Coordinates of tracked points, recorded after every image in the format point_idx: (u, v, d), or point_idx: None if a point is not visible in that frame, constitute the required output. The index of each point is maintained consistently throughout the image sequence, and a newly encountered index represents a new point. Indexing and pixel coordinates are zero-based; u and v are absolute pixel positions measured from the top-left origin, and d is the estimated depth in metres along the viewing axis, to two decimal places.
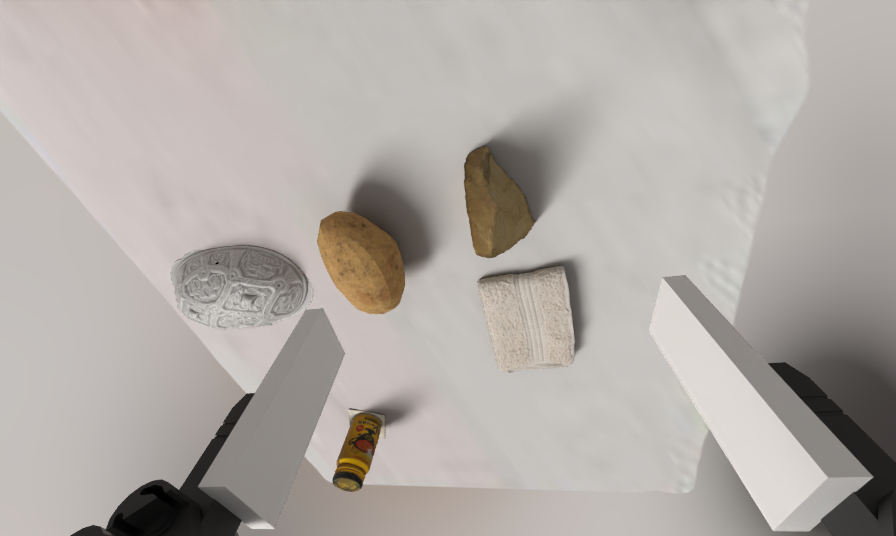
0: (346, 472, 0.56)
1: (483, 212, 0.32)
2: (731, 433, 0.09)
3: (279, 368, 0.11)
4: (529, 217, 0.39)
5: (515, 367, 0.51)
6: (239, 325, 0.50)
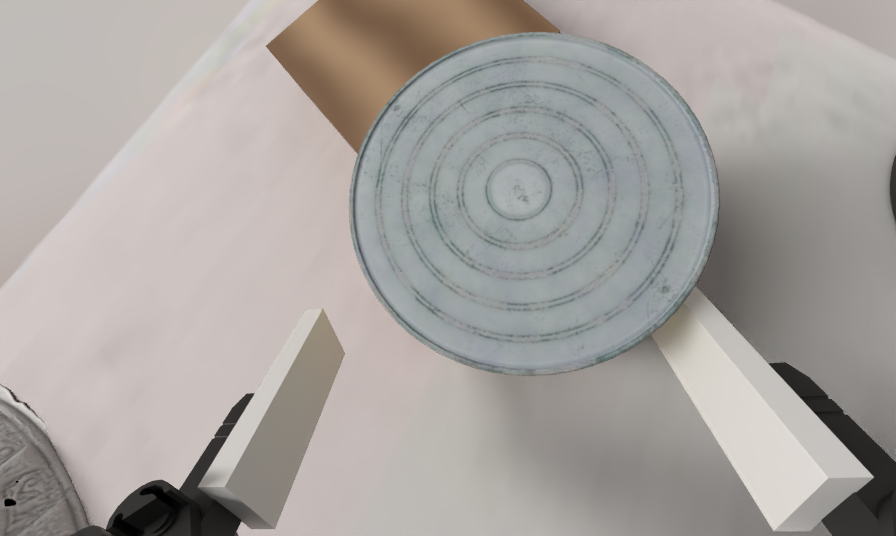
0: None
1: None
2: (732, 434, 0.09)
3: (279, 368, 0.11)
4: None
5: None
6: None
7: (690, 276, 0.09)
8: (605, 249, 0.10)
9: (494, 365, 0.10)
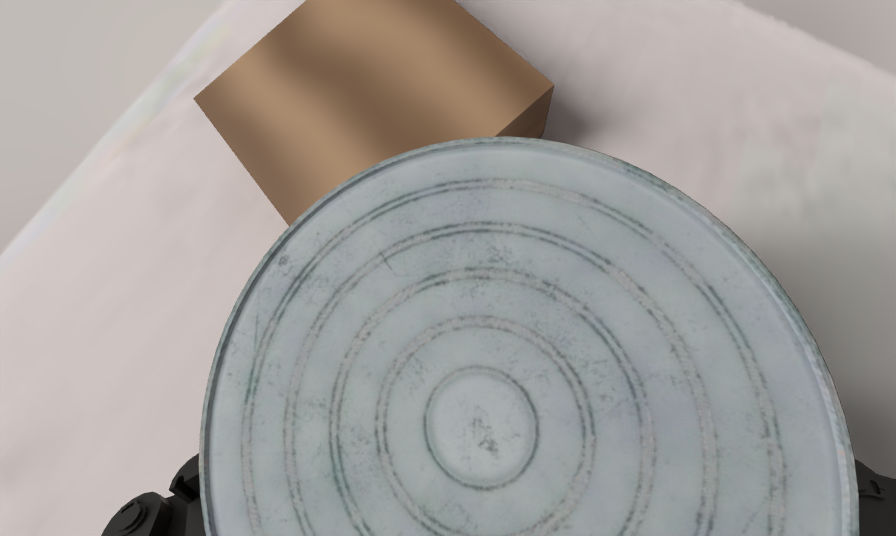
0: None
1: None
2: None
3: None
4: None
5: None
6: None
7: None
8: None
9: None
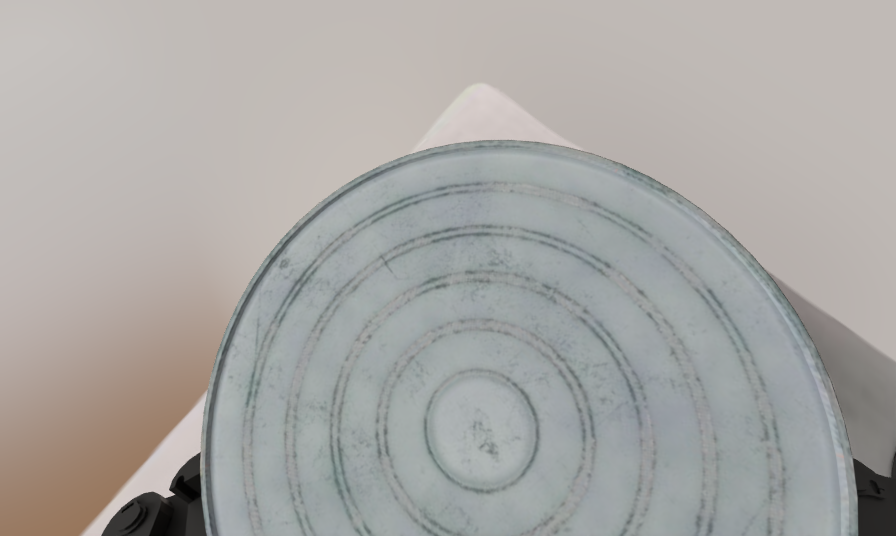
0: None
1: None
2: None
3: None
4: None
5: None
6: None
7: None
8: None
9: None
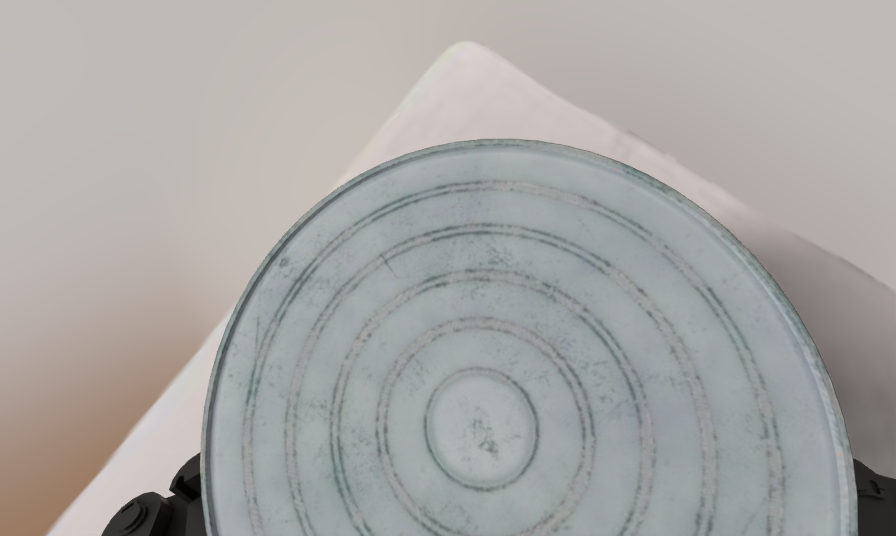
0: None
1: None
2: None
3: None
4: None
5: None
6: None
7: None
8: None
9: None
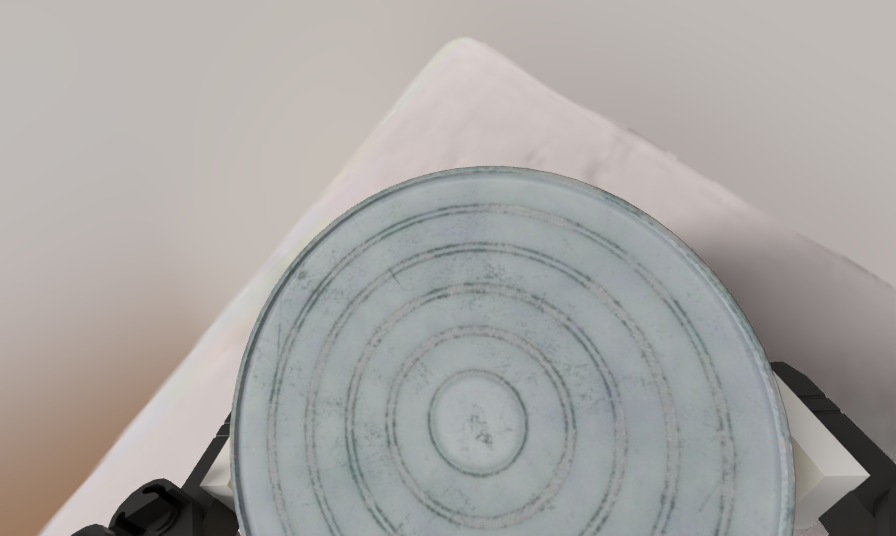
0: None
1: None
2: None
3: None
4: None
5: None
6: None
7: None
8: None
9: None
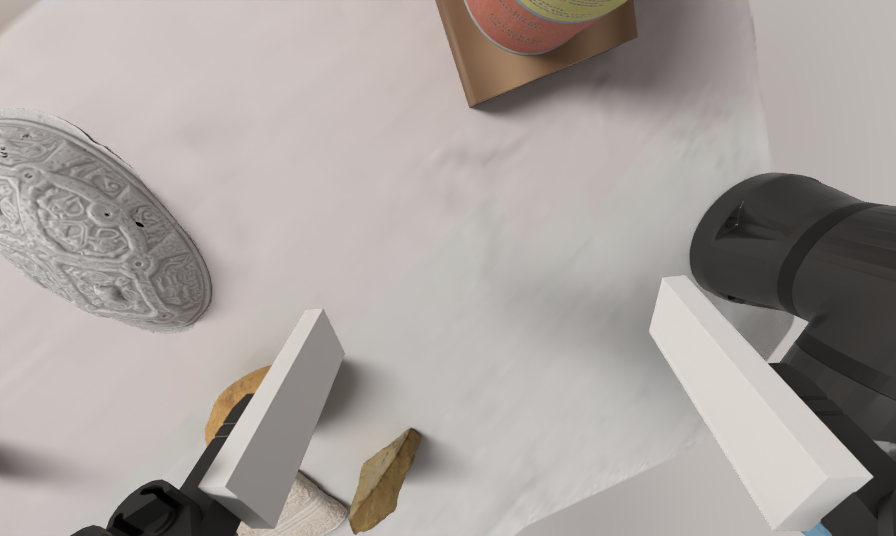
0: None
1: (384, 501, 0.39)
2: (731, 434, 0.09)
3: (279, 368, 0.11)
4: None
5: None
6: (25, 272, 0.29)
7: None
8: None
9: None
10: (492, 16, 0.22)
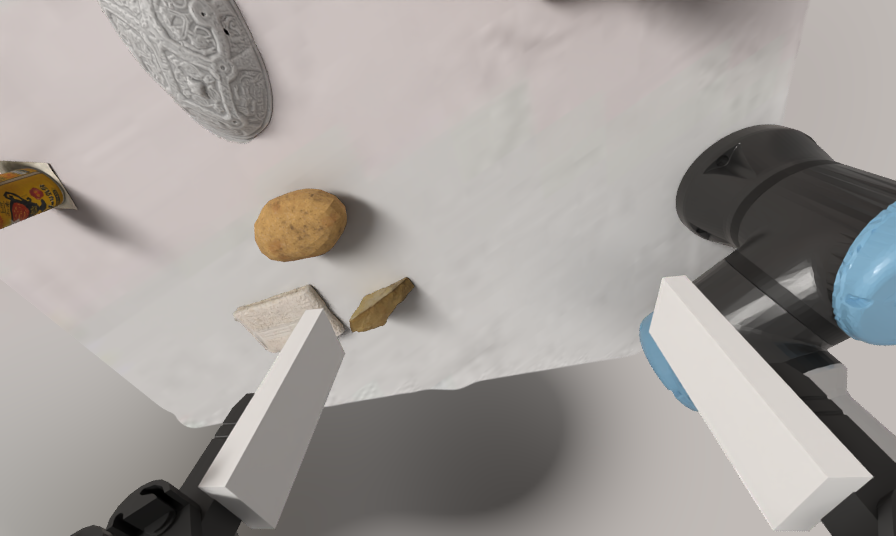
0: None
1: (378, 317, 0.51)
2: (731, 434, 0.09)
3: (279, 368, 0.11)
4: None
5: (244, 323, 0.61)
6: (133, 50, 0.35)
7: None
8: None
9: None
10: None
